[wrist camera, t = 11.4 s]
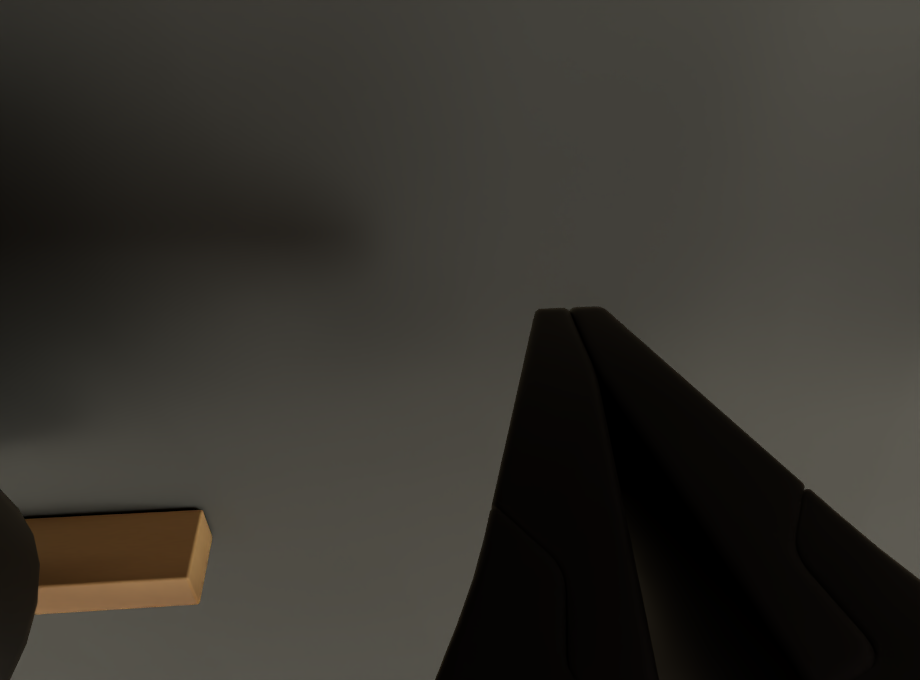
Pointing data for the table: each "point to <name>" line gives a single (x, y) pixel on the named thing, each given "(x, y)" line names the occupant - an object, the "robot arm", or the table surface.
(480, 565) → the robot arm
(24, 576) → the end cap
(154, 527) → the brown flat block
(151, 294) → the table surface
